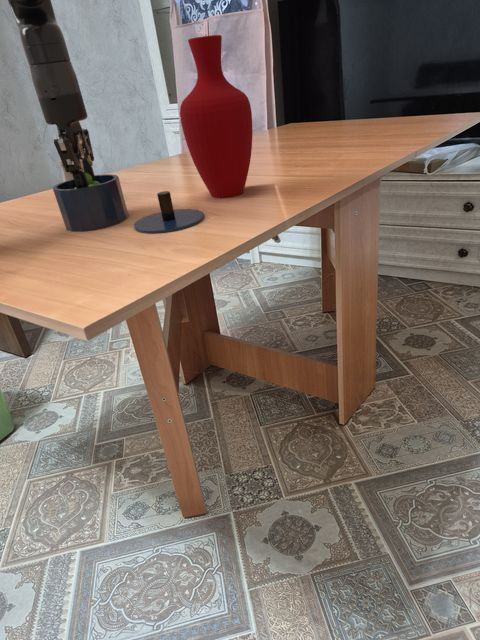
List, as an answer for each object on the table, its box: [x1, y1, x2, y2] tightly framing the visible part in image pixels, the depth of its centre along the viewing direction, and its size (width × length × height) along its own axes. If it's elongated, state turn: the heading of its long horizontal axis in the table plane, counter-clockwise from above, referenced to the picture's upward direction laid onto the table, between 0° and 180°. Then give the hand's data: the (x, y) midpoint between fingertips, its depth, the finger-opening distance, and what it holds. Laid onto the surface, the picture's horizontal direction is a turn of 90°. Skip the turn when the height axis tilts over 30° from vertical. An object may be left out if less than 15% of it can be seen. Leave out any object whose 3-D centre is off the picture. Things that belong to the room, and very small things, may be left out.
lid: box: [133, 190, 205, 234], centre depth 89 cm, size 14×14×6 cm
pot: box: [52, 173, 129, 233], centre depth 94 cm, size 13×13×8 cm
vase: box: [179, 34, 253, 199], centre depth 97 cm, size 15×15×30 cm
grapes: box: [75, 171, 101, 189], centre depth 92 cm, size 5×5×6 cm
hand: (88, 189), depth 93 cm, fingers closed on grapes, 4 cm apart
